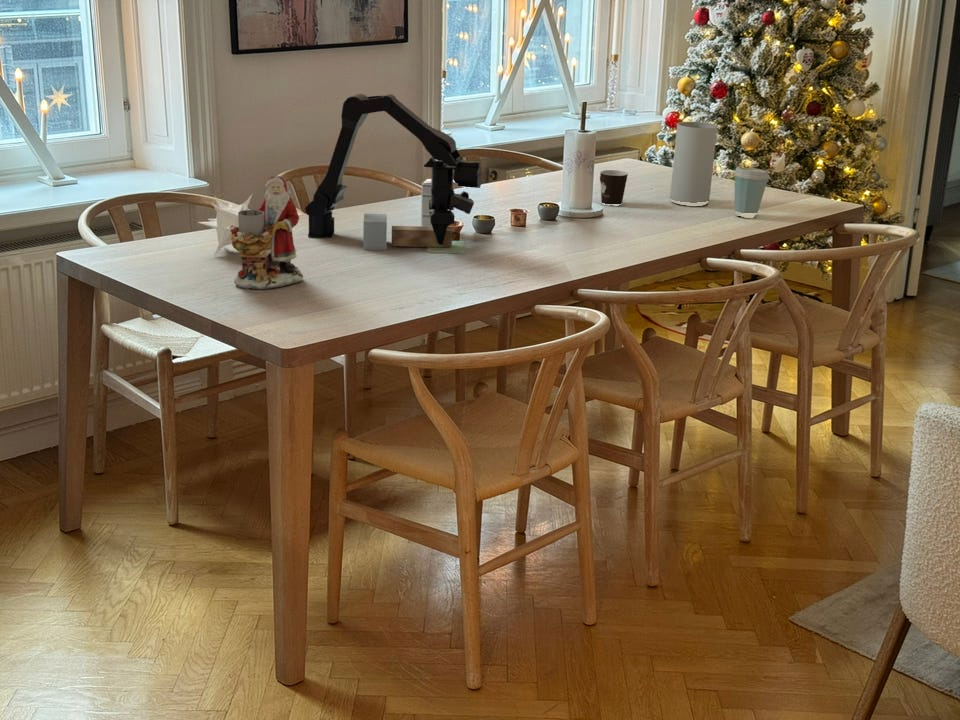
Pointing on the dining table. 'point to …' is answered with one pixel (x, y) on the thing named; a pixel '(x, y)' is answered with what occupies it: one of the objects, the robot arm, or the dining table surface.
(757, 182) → the disposable coffee cup
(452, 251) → the green mat
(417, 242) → the walnut block
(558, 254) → the dining table surface
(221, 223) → the star ornament
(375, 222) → the upright grey block
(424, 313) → the dining table surface
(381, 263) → the dining table surface
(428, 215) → the syrup box
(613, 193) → the coffee mug
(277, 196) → the santa figurine
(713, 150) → the cylinder vase
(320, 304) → the dining table surface
